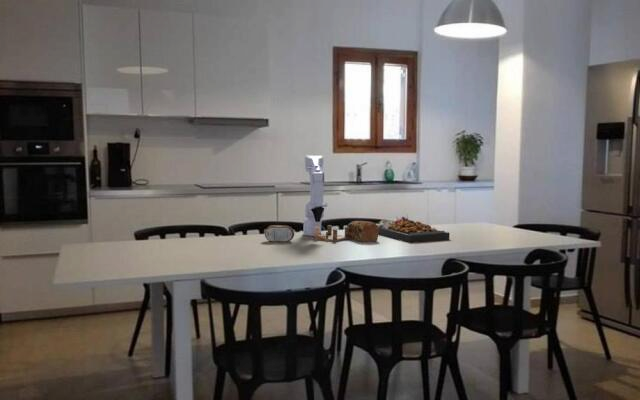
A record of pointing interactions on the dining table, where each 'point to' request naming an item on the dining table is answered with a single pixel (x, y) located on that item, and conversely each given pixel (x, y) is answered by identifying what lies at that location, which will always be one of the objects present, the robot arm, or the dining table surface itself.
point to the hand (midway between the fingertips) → (317, 221)
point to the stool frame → (334, 235)
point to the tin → (279, 233)
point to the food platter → (410, 231)
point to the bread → (363, 231)
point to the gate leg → (318, 233)
